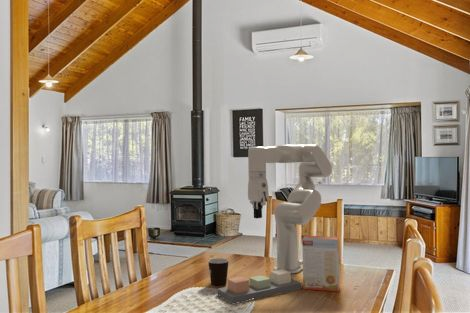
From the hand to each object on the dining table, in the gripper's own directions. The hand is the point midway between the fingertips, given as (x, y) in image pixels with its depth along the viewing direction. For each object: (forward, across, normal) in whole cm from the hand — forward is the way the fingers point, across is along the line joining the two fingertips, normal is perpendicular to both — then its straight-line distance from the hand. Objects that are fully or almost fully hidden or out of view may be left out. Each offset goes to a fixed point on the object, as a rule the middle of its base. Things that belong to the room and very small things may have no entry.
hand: (257, 217), depth 188 cm
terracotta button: (+26, -13, +18) cm, 34 cm away
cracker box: (+27, -23, -15) cm, 39 cm away
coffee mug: (+27, +6, +16) cm, 32 cm away
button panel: (+27, -13, +8) cm, 31 cm away
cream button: (+26, -13, -2) cm, 29 cm away
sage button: (+27, -13, +8) cm, 31 cm away
